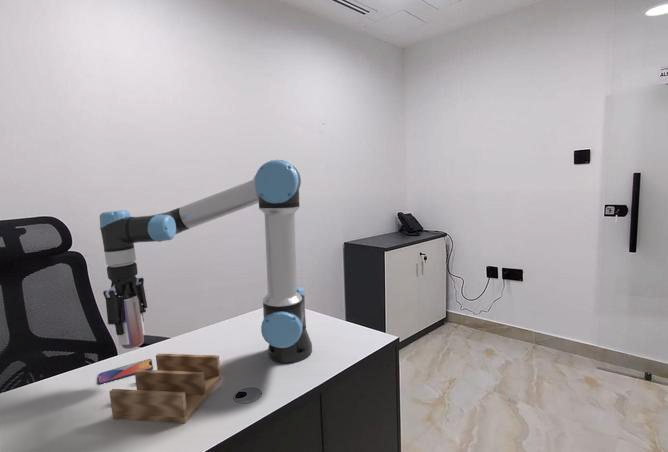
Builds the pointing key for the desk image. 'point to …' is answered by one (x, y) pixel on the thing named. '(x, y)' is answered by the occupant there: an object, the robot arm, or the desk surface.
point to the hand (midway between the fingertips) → (132, 338)
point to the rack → (168, 389)
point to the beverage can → (133, 322)
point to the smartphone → (124, 371)
